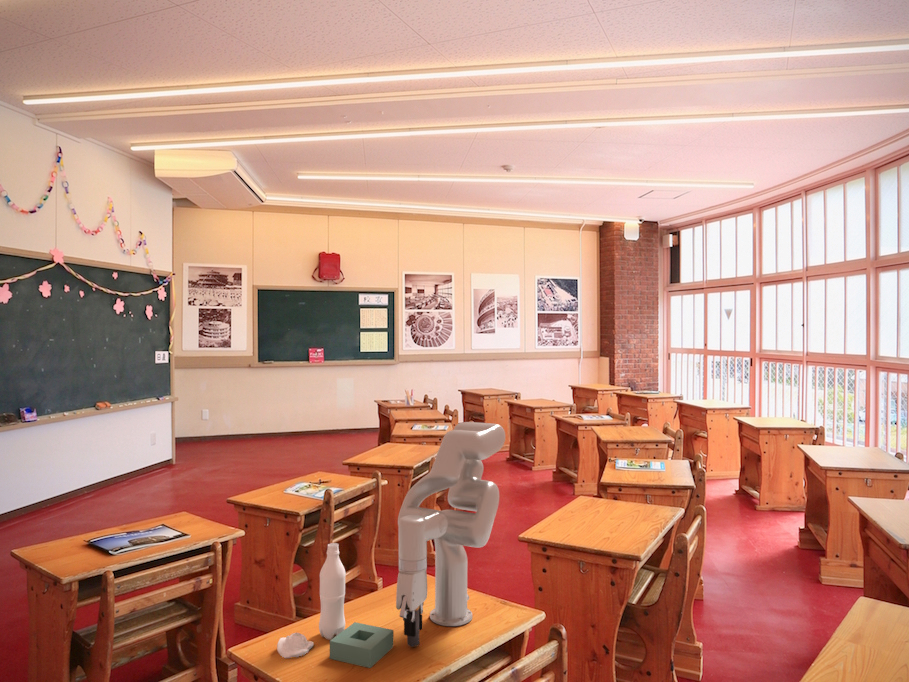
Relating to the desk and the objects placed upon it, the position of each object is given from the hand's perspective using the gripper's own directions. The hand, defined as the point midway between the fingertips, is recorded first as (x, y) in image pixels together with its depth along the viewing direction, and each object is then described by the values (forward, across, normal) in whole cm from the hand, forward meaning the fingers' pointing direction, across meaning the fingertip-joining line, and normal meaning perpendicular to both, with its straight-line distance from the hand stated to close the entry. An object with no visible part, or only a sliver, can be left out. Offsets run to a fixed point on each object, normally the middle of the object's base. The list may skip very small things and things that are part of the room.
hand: (413, 631), depth 163 cm
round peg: (+3, 0, 0) cm, 3 cm away
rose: (+4, +13, -28) cm, 32 cm away
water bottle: (+4, +3, -24) cm, 24 cm away
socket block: (+4, +8, -11) cm, 14 cm away
